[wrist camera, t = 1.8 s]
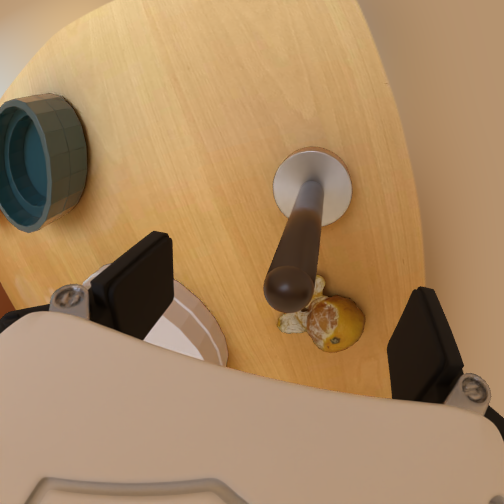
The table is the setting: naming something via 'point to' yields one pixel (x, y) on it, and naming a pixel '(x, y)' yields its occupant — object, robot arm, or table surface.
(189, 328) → the dish
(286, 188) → the upright rod
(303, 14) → the table surface
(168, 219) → the table surface
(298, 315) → the fruit
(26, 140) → the bowl
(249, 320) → the table surface
